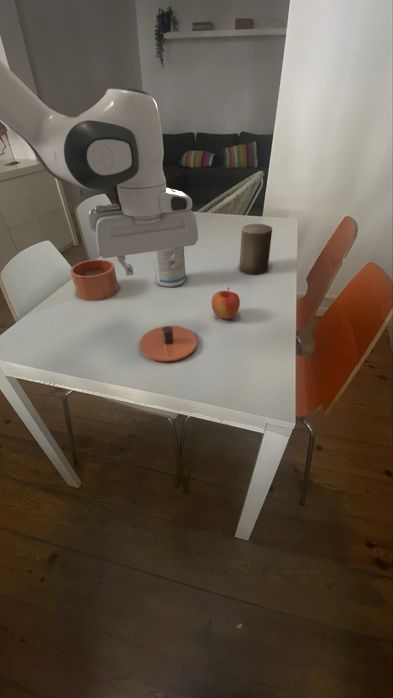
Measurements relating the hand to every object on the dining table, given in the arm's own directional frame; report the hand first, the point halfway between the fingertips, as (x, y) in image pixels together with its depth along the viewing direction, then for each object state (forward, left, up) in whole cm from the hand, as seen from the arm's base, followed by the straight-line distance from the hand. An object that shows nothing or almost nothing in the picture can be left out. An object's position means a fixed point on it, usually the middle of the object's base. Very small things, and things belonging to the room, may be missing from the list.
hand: (151, 270), depth 67 cm
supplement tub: (+11, +29, -18) cm, 36 cm away
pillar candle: (+40, +28, -18) cm, 52 cm away
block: (-12, +31, -17) cm, 37 cm away
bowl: (-12, +31, -18) cm, 37 cm away
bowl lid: (+1, -4, -17) cm, 17 cm away
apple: (+19, +3, -18) cm, 26 cm away
